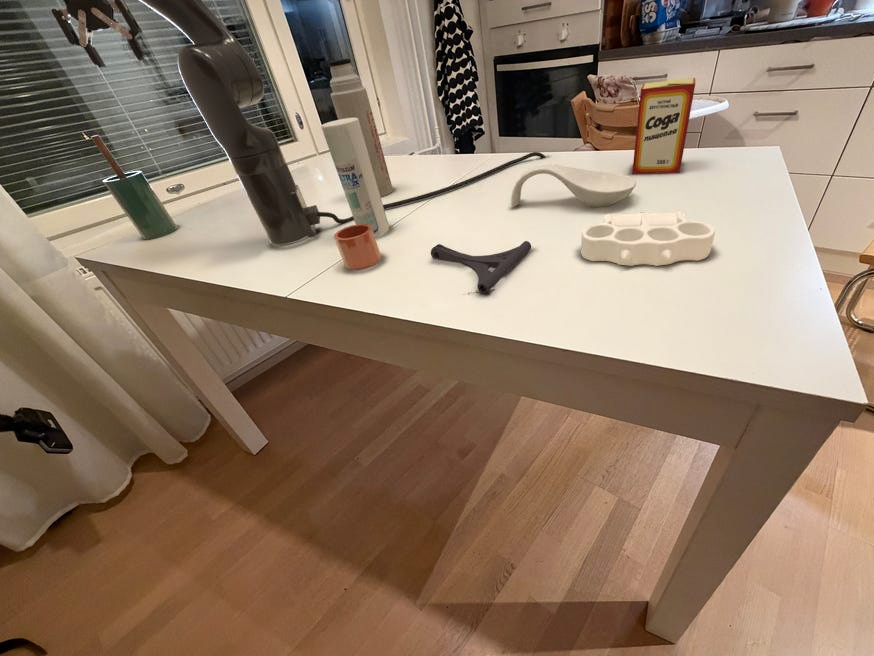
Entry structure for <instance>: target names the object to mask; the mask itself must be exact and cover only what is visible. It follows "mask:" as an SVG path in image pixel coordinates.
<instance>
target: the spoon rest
mask: <svg viewBox="0 0 874 656" xmlns="http://www.w3.org/2000/svg"><path fill="white" fill-rule="evenodd" d="M540 174H541V175H542V174H545V175H550V176H552V177H554V178H556V179H557V180H558V181H560V182H561V183H562V184H563V185H564V186H565V187H566V188H567V189H568V190H569V191H570V192H571V193H572V195H574V196H575V198H576V199H578V200H579V201H581V202H582V203H583V204H584V205H586V206H589V207H594V208H603V207H608V206H611V205H614V204H616V203H619V202H620V201H622V200H624V199H625V198H627V197H628V196H629V195H630V194H631V193H632V192H633V190H635V188H636V185H637V181H636V180H635V179H634V178H633V177H631V176H629V175H626V174H622V173H617V172H610V171H601V170H592V169H591V170H590V169H585V168H579V167H573V166H568V165H563V164H556V163H541V164H537V165H534V166H532V167H529V168H528V169H527V170H525V171H524V172H523V173H522V174H521V176H520V177H519V178H518V179H517V181H516V182H515V185H514V186H513V189H512V193H511V197H510V204H511V207H516V206H517V205H518V204H519V203H520V201H521V197H522V189H523V185H524V184H525V183H526V181H528V180H529V179H531V178H532V177H534V176H536V175H540Z"/></svg>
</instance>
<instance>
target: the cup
mask: <svg viewBox="0 0 874 656" xmlns="http://www.w3.org/2000/svg"><path fill="white" fill-rule="evenodd" d="M124 173H125V175H126V176H127V177H125V178H121V179H119V178H118V176H117V175H114V176H110V177H108V178H106V179H103V180H102V183H103V184H104V185H105V187H106V188H107V190H108V191H109V193H110V194H111V195H112V197H113V199H114V200H115V201H116V202H117V204H118V205H119V207H120V208H121V209H122V211H123V212H124V213H125V215H126V216H127V217H128V219H129V221H130V222H131V223H132V225H133V226H134V227H135V229H136V230H137V231H138V233H139V235H141V237H142V238H143V239H144V240H152V239H157V238H161V237H164V236H167V235H170V234H172V233H173V232H175V231H176V230H178V226H177V224H176V222H175V221H174V220H173V218H172V216H171V215H170V214H169V212H168V210H167V209H166V207H165V206H164V204H163V203H162V201H161V199H160V198H159V196H158V195H157V194H156V192H155V190H154V189H153V187H152V186H151V184H150V183H149V181H148V179H147V178H146V177H145V175H144V174H143V171H141V170H135V171H129V172H124Z"/></svg>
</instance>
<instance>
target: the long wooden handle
mask: <svg viewBox="0 0 874 656" xmlns="http://www.w3.org/2000/svg"><path fill="white" fill-rule="evenodd" d="M90 139H91V140H92V142H93V143H94V145H95V146H96V148H97V149H98V150H99V152H100V153H101V154H102V156H103V157H104V159H105V161H106V162H107V163H108V165H109V166H110V168H111V169H112V171H113V172H114V174H115V176H118V178H119V179H121V178H125V177H127V176H126V175H125V173H126V172H124V170H123V169H122V167H121V166H120V164H119V163H118V161H117V160H116V159H115V157H114V155H113V154H112V152H111V151H110V150H109V148H108V147H107V145H106V144H105V142H104V141H103V139H102V138H101V136H100V135H99V134H96V135H92V136H90Z"/></svg>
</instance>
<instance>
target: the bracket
mask: <svg viewBox="0 0 874 656" xmlns="http://www.w3.org/2000/svg"><path fill="white" fill-rule="evenodd" d="M531 249H532V243H531V242H529V241H528V240H524V241H523V242H522V243H521V244H520V245H519V246H516V247H513V248H511V249H509V250H506V251H505V250H504V251H501V252H497V253H493V254H485V255H471V254H467V253H464V252H460V251H457V250H455V249H452V248H449V247H447V246H445V245H443V244H440V243H438V244H436V245H435V246H433V247H432V248H431V249H430V256H431V258H432V260H433V259H434V260H439V261H446V262H452V263H458V264H459V263H460V264H464V265H466V266H468V267H470V268H471V269H473V270H474V271H475V273H476V275H477V277H478V279H477V286H476V287H477V291H478V292H479V293H481V294H483V295H485V294H487V293H488V292H490V291H491V290H492V289H493V288H494V286H495V285H496V284H497V283H498V282H499V281H500V280H501V279H502V278H503V277H504V276H505V275H506V274H508V272H509V271H510V270H511V269H512V268H514V266H515V265H516V264H518V263H519V262H520V261H521V259H522V258H524V257H525V256H526V255H527V254H528V252H529V251H530V250H531ZM489 268H492V269H493V270H492V271H491V270H489Z"/></svg>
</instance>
